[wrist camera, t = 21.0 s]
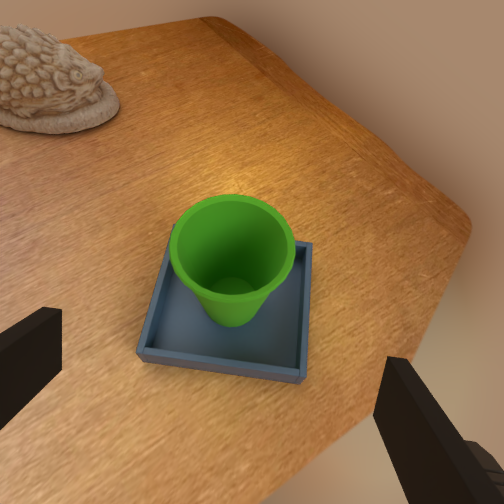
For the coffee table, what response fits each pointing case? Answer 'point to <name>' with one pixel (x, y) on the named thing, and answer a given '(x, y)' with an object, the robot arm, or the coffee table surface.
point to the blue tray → (231, 328)
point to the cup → (232, 255)
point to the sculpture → (50, 85)
